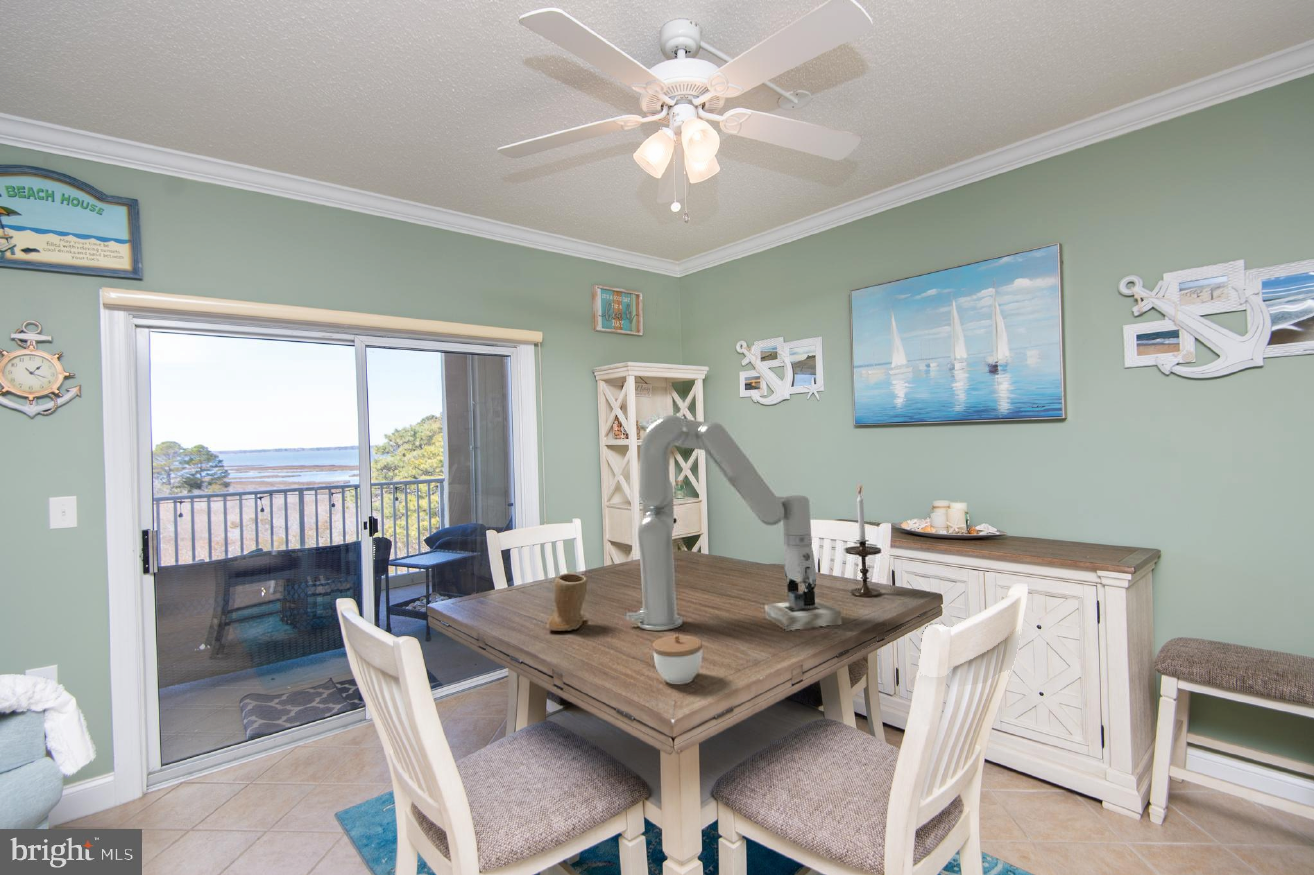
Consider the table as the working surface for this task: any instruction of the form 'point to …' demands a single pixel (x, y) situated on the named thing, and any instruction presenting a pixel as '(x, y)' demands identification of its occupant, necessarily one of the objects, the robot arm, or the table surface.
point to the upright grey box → (798, 602)
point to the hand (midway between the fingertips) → (801, 601)
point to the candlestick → (863, 555)
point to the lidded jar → (678, 658)
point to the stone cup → (568, 602)
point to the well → (802, 616)
